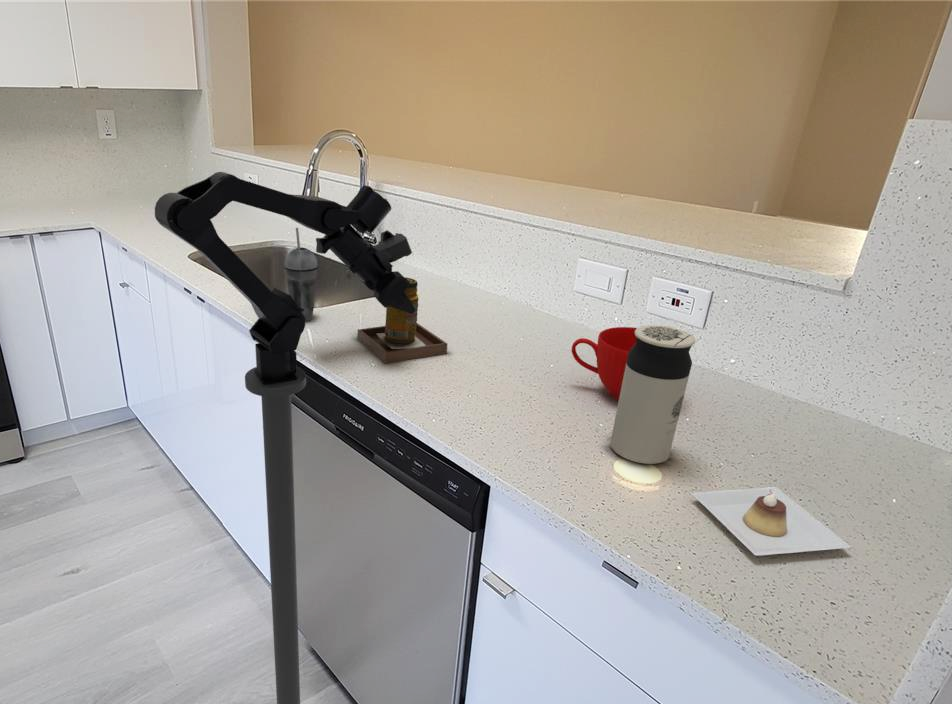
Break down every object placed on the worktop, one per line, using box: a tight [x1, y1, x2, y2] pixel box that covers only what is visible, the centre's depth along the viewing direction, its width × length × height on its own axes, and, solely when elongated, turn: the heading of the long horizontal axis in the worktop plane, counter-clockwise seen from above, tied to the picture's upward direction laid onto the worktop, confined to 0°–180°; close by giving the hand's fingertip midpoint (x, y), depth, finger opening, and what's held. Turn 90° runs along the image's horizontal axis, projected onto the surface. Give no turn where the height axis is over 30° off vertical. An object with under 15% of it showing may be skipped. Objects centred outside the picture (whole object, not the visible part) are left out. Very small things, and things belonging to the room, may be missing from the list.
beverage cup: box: [283, 227, 319, 322], centre depth 138 cm, size 7×7×20 cm
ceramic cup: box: [571, 326, 638, 401], centre depth 109 cm, size 13×17×10 cm
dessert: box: [691, 486, 852, 557], centre depth 77 cm, size 12×12×5 cm
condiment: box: [377, 276, 426, 349], centre depth 124 cm, size 7×8×12 cm
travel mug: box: [609, 324, 696, 465], centre depth 90 cm, size 8×8×18 cm
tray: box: [357, 322, 448, 364], centre depth 128 cm, size 13×13×2 cm
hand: (408, 306), depth 125 cm, fingers closed on condiment, 6 cm apart
